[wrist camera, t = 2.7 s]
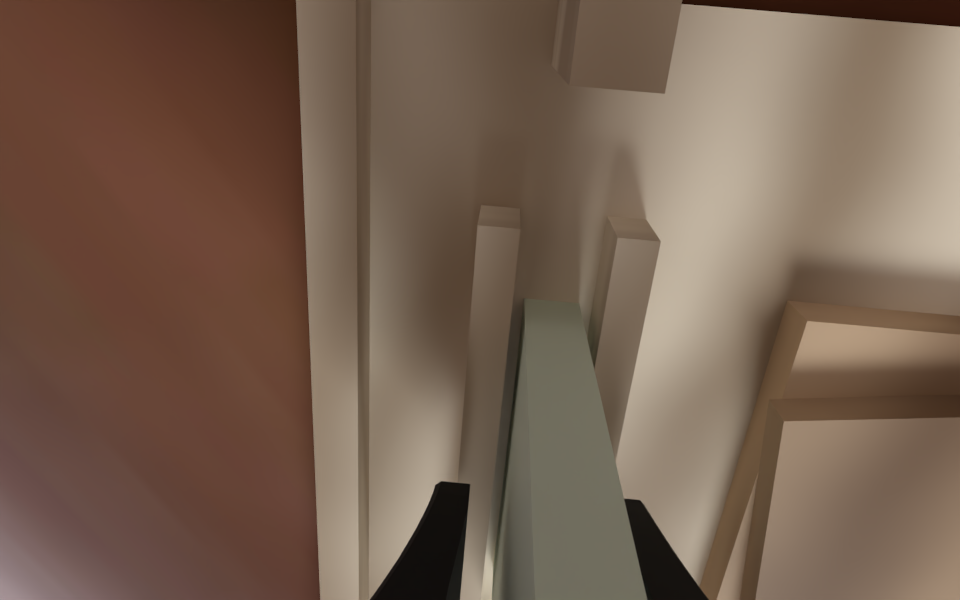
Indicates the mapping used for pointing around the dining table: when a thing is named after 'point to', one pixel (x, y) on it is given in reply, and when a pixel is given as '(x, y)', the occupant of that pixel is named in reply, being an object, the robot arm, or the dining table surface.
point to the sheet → (561, 474)
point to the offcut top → (857, 500)
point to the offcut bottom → (830, 394)
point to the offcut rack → (594, 235)
